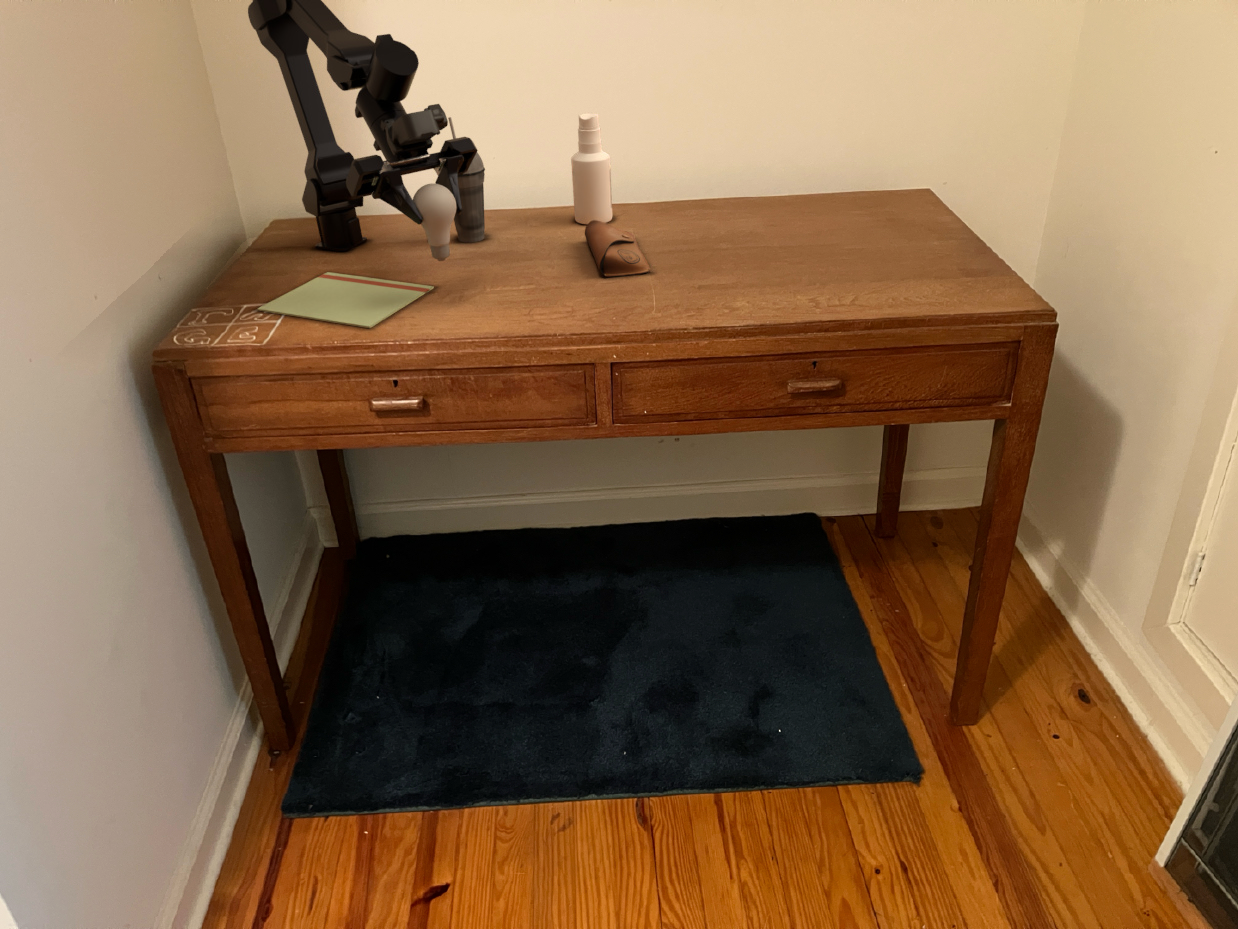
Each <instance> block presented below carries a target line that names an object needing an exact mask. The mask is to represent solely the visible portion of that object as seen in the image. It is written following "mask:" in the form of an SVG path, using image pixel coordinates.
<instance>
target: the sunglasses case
mask: <svg viewBox="0 0 1238 929" xmlns="http://www.w3.org/2000/svg"><path fill="white" fill-rule="evenodd" d="M584 237H585V240H586V242H587V244H588V246H589V249H590V251H591V254H592V255H593V258H594V261H595V264H596V267H597V268H598V271H600V273H601V274H602V275H603V276H604V277H609V278H610V277H628V276H634V275H640V274H646V273H648V272H650V271H651V268H650V265H649V263H648V261H647V259H646V257H645V255H644V254H643V252H642V251H641V250H642V249H641V248H640V246H639V244H638V243H637V241H636V237H635V235H634V234H633V233H632V232H629V231H625V230H621V229H619V228H618V227H616V226H614V225H611V224H609V223H608V222H606V223H604V222H601V221H597V220H593V221H590V222H589V223H588V225H587V224H586V227H585V229H584Z"/></svg>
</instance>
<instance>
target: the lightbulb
mask: <svg viewBox="0 0 1238 929" xmlns="http://www.w3.org/2000/svg"><path fill="white" fill-rule="evenodd" d="M412 200H413V202H414V203H415V205H416V207H417V208H418V210H419V212H420V215H421V217H422V220H423V221H422V223H421V224H420V226H421V227H422V228H423V231H424V233H425V236H426V240H427V243H428V245H429V247H430V252H431V257H432V258H433V259H435V260H437V261H438V262H444V261H445V260H446V259H448V258H449V257H450V255H451V254H450V242H451V229H452V228H451V227H452V224H453V222H454V216H455V213H456V201H455V198H454V196H453V194H452V193H451V192H450V191H449V190H448V189H447V188H446V187H444V186H442V185H439V184H436V183H427V184H423V185H421V187H419V188H418V189H417V190H416V192H415V193H414V194H413V197H412Z"/></svg>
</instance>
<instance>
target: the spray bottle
mask: <svg viewBox="0 0 1238 929" xmlns="http://www.w3.org/2000/svg"><path fill="white" fill-rule="evenodd" d="M601 134H602V132H601V126H600V116H599V114H598V113H593V112H587V113H586V112H585V113H580V114H578V128H577V135H578V136H577V137H578V138H577V139H578V142H577V146H578V147H577V148H578V151H577V152H576V153H574V154H573V155H572V156H571V158H570V162H571V178H572V179H571V181H572V194H573V210H574V213H573V214H574V220H575V222H576V223H578V224H582V225H586V226H587V225H588V223H589V222H590V221H593V220H597V221H601V222H604V223H609V222H611V221H612V219H613V194H612V192H613V191H612V168H611V156H610V154H609V153H607V152H605V151H604V150H603V143H602V135H601Z"/></svg>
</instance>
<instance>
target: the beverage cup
mask: <svg viewBox="0 0 1238 929" xmlns="http://www.w3.org/2000/svg"><path fill="white" fill-rule="evenodd" d="M447 120H448V124H449V127H450V131H451V135H452V139H456V138H457V137H456V132H455V128H454V124H453V120H452V117H451V116H449V117H447ZM485 171H486V169H485V165H484V162H483V160H482V157H481V155H480V154H479V153H478V152H477V153H476V155H475V157H474V159H473V161H472V163H471V165H470V167H469V168H468V170H467V172H465V173H464V174H461V175H458V187H459V193H460V200H461V206H462V212H461V214H457V213H455V216H454V219H453V222H454V227H455V232H456V235H457V239H458V241H459V242H461V243H476V242H480V241H483V240H484V239H485V238H486V237H485V228H486V226H485V225H486V224H485V223H486V222H485V221H486V220H485V194H484V192H485V191H484V188H485V187H484V182H485V176H486V175H485Z"/></svg>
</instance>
